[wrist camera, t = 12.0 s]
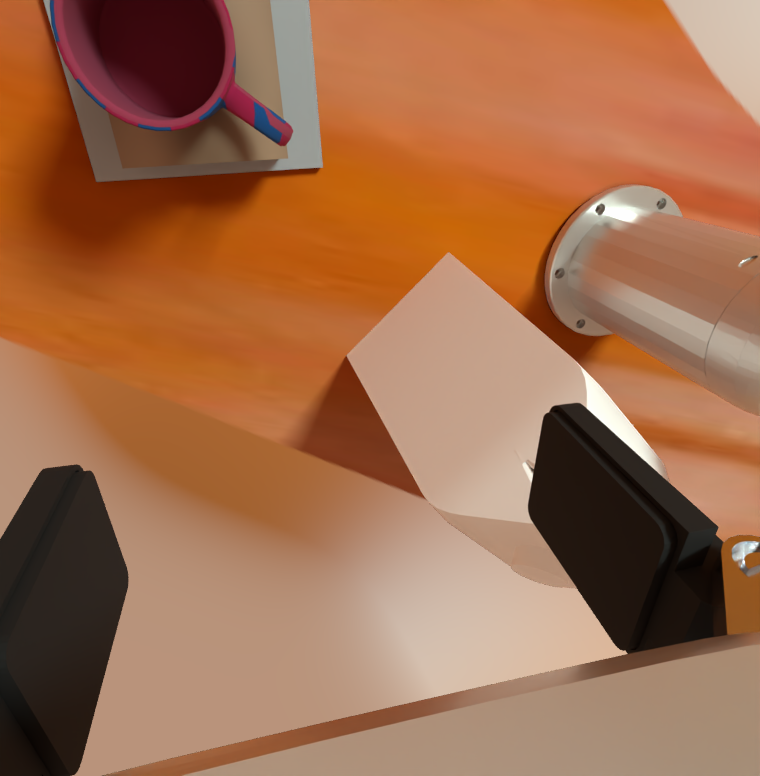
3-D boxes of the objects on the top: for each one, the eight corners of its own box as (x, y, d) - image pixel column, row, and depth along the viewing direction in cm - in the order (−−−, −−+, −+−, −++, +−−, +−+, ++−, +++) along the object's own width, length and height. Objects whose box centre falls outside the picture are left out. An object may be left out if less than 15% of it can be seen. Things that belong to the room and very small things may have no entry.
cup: (140, -71, 23) (108, -130, 18) (311, 96, 28) (330, 93, 22) (66, 56, 25) (15, 41, 19) (240, 194, 30) (241, 215, 24)
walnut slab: (262, -24, 28) (265, -42, 25) (283, 153, 33) (288, 158, 29) (88, -25, 27) (66, -45, 23) (135, 161, 31) (122, 168, 28)
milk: (529, 344, 45) (806, 569, 23) (436, 430, 47) (609, 712, 25) (448, 252, 39) (717, 437, 17) (346, 355, 41) (469, 638, 19)
